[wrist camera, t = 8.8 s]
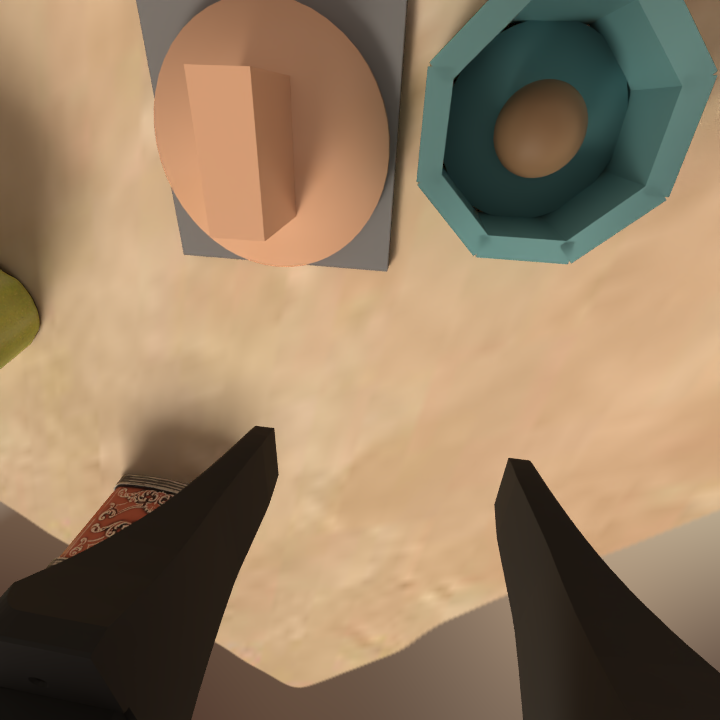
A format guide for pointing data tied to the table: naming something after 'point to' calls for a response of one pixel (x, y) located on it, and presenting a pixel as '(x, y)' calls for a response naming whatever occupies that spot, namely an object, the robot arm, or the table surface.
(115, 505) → the lighter
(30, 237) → the table surface
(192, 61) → the lid
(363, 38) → the mat
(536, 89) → the ball
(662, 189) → the bowl
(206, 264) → the table surface
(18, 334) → the plant pot
